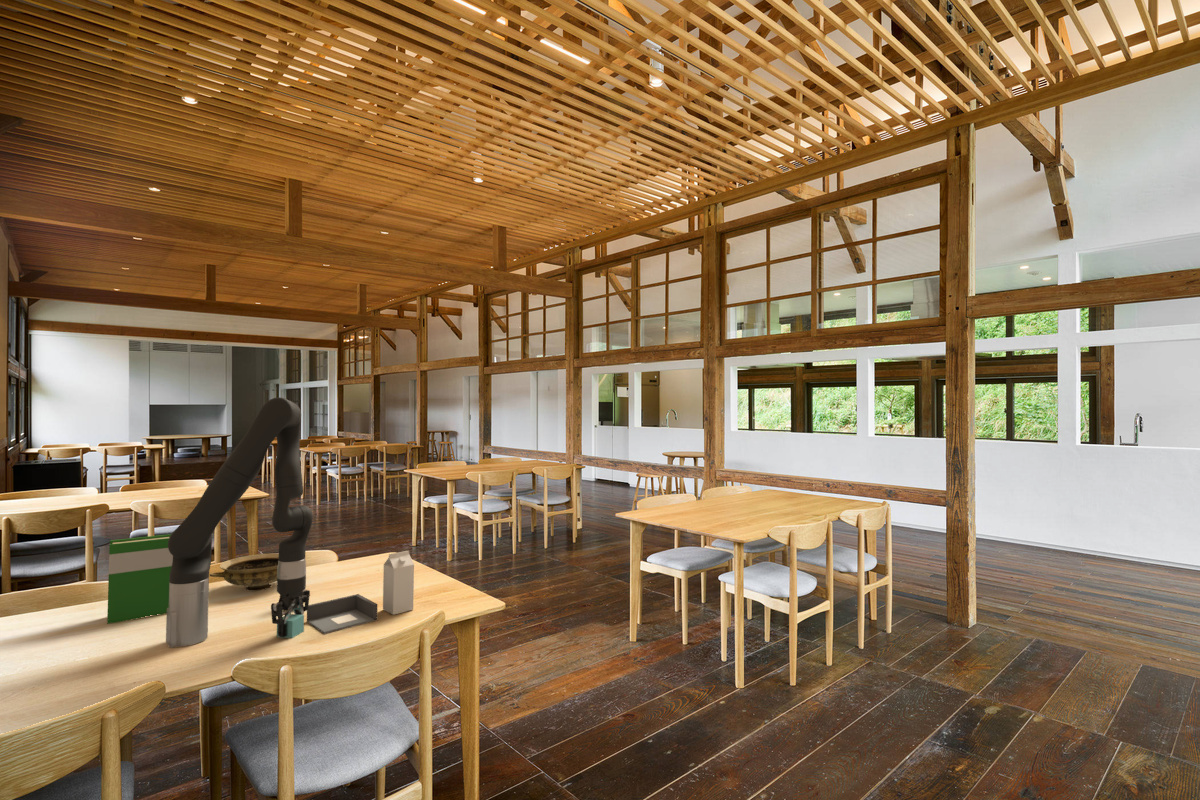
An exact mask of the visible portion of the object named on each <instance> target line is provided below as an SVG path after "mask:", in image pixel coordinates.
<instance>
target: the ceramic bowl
mask: <svg viewBox="0 0 1200 800" xmlns="http://www.w3.org/2000/svg"><path fill="white" fill-rule="evenodd" d="M278 557H279V552H277V553H276V552H275V553H274V552H272V553H257V554H252V555H251V554H250V555H245V556H239V557H236V558H232V559H228V560H226V561H224V562H222V563H220V564H219V568H220V569H221V570H223V571H220V572H219V571H218V572H211V573H209V577H213V578H222V579H224V580H225V582H227V583H229V584H231V585H233V586H234V585H235V586H239V587H246V588H245V590H246V591H249V592H250V591H252V592H253V591H254V592H256V591H263V590H267V589H269V588H271V587H272V584H273V583H277V567H278V561H279V560H278Z"/></svg>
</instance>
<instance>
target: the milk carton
mask: <svg viewBox="0 0 1200 800" xmlns="http://www.w3.org/2000/svg"><path fill="white" fill-rule="evenodd" d="M414 573H415V563H414V561H413V559H412V557H411V555H410V550H404V551H399V552H393V553H388V558H387V559H386V561H384V563H383V577H382V578H383V580H382V584H383V586H382V587H383V588H382V610H383V611H384V612H387V613H389V614H391V615H398V614H401V613H406V612H410V611H413V610H414V592H415V591H414V587H415V586H414V585H415V582H414V581H415V574H414Z"/></svg>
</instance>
